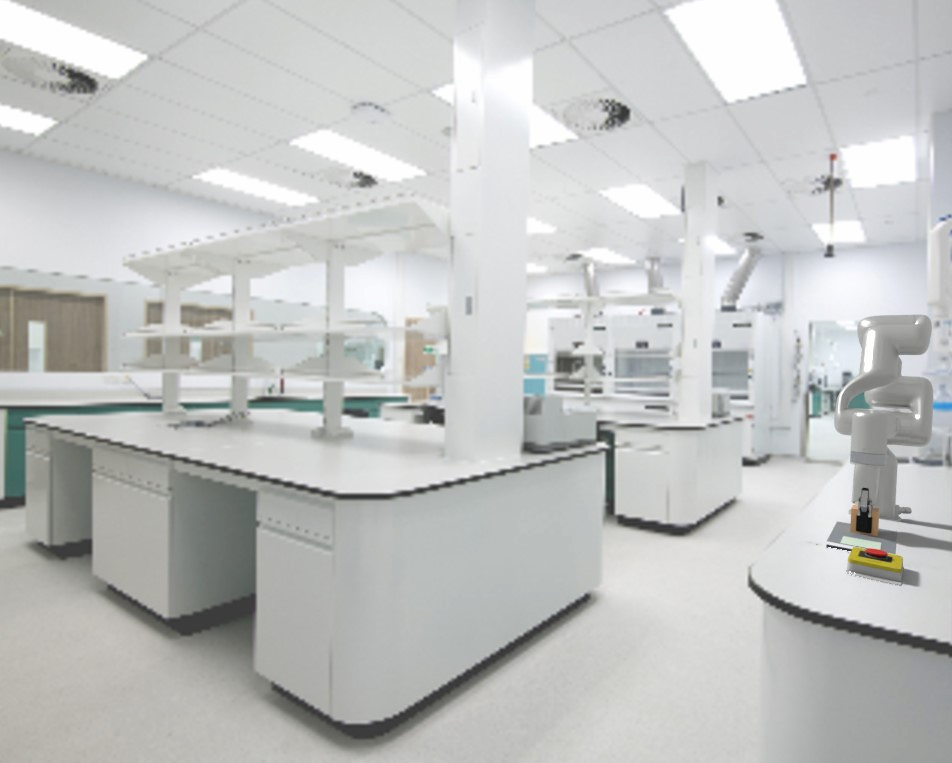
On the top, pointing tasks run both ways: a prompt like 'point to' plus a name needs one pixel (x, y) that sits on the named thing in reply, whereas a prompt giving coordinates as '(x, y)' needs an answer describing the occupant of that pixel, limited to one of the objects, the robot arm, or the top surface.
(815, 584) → the top surface
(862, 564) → the emergency button
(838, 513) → the top surface
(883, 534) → the base plate
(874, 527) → the tan wooden cube
